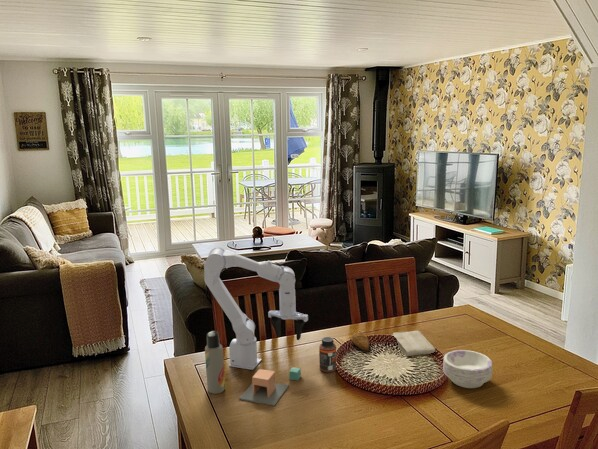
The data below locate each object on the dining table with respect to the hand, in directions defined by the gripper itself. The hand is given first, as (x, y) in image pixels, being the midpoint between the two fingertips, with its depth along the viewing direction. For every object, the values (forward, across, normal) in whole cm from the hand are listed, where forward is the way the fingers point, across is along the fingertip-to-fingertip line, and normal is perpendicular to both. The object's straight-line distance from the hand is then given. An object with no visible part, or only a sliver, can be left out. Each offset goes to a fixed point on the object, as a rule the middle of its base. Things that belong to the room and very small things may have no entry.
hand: (288, 337), depth 175 cm
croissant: (+10, +21, +21) cm, 32 cm away
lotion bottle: (+10, -16, -25) cm, 31 cm away
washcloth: (+10, +41, +27) cm, 50 cm away
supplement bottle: (+10, +15, -1) cm, 18 cm away
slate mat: (+9, 0, -22) cm, 24 cm away
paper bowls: (+10, +61, +5) cm, 62 cm away
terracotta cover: (+9, 0, -22) cm, 24 cm away
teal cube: (+10, +6, -10) cm, 15 cm away
